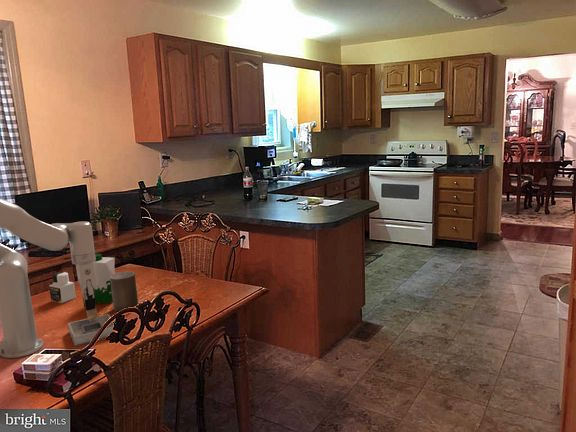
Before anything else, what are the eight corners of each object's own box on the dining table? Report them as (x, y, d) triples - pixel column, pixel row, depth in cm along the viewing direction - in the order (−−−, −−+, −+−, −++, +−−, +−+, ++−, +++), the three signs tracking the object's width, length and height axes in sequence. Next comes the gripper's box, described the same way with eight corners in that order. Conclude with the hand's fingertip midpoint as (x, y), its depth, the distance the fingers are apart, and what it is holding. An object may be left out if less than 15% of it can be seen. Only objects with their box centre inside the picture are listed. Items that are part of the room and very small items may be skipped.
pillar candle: (142, 306, 188) (139, 271, 185) (119, 313, 181) (115, 277, 179) (131, 301, 195) (128, 266, 192) (109, 307, 188) (105, 272, 185)
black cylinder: (89, 321, 161) (82, 290, 158) (88, 319, 164) (81, 287, 161) (98, 319, 163) (91, 287, 160) (96, 316, 165) (90, 285, 162)
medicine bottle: (50, 301, 198) (47, 274, 195) (65, 295, 204) (61, 269, 202) (61, 303, 194) (57, 276, 192) (76, 297, 201) (72, 271, 198)
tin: (75, 346, 154) (73, 337, 154) (68, 332, 166) (67, 323, 165) (118, 335, 162) (117, 326, 161) (109, 322, 173) (108, 313, 173)
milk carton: (102, 296, 201) (97, 252, 198) (121, 297, 200) (116, 252, 196) (90, 303, 193) (84, 257, 189) (110, 304, 191) (104, 258, 187)
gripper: (99, 260, 154) (106, 312, 157) (90, 250, 167) (96, 298, 171) (75, 265, 150) (82, 318, 153) (68, 254, 163) (74, 303, 167)
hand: (89, 307), depth 162 cm, fingers closed on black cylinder, 3 cm apart
